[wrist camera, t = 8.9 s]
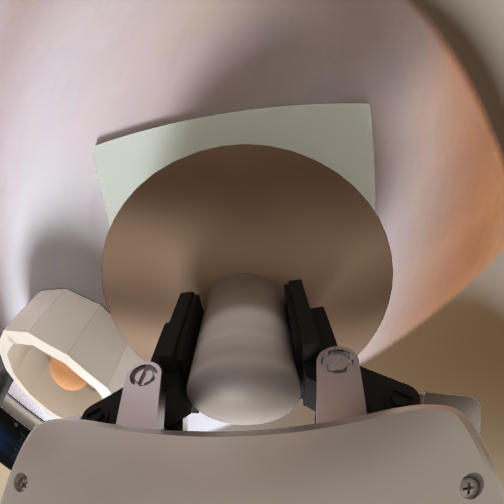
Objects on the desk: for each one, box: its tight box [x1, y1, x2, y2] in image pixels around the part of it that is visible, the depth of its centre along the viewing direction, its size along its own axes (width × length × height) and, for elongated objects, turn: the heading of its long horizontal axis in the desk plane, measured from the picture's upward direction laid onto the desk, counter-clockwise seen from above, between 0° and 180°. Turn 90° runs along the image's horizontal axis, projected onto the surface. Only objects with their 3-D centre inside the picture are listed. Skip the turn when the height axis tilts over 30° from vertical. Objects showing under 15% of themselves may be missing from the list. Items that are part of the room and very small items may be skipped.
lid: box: [102, 144, 393, 425], centre depth 11 cm, size 14×14×6 cm
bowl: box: [0, 289, 145, 419], centre depth 19 cm, size 13×13×6 cm
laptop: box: [0, 393, 44, 470], centre depth 26 cm, size 18×12×13 cm
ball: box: [50, 357, 87, 391], centre depth 19 cm, size 4×4×4 cm
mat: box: [92, 103, 375, 227], centre depth 18 cm, size 17×17×1 cm
